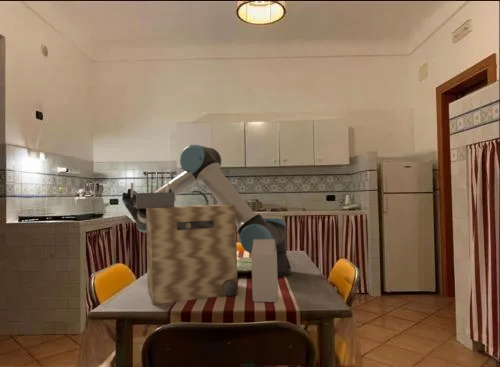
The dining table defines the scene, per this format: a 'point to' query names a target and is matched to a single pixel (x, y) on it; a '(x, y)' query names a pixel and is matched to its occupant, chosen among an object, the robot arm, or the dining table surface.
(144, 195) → the t handle
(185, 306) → the dining table surface
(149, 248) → the zigzag patterned box
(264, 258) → the milk carton
